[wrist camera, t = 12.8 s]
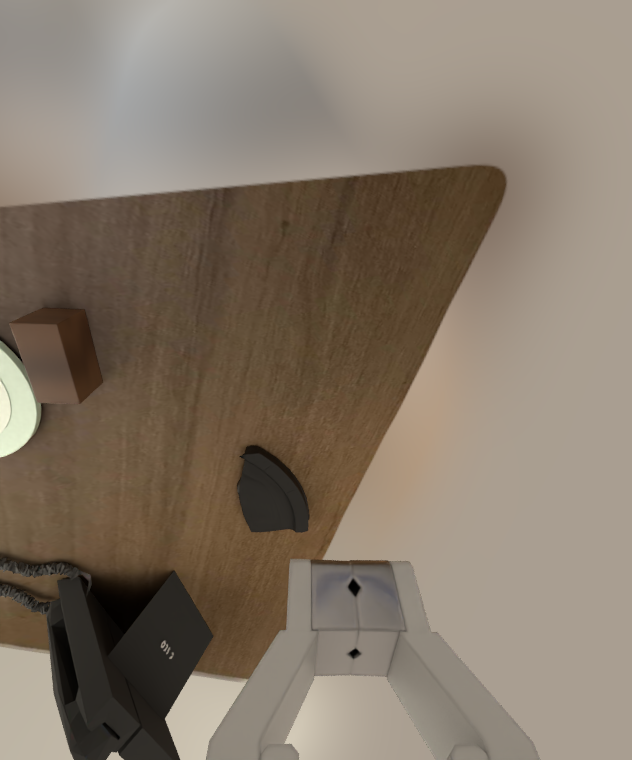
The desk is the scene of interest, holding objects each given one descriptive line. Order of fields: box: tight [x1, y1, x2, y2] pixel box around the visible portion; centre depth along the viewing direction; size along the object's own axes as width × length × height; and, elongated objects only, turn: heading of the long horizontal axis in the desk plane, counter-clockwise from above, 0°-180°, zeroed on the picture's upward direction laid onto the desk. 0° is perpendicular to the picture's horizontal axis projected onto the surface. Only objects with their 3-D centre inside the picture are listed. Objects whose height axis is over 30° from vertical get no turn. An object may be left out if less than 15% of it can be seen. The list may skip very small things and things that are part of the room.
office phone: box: [0, 558, 213, 760], centre depth 48 cm, size 29×28×20 cm
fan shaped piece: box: [237, 446, 309, 532], centre depth 46 cm, size 8×14×2 cm, turn 6°
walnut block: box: [9, 308, 103, 404], centre depth 35 cm, size 8×4×4 cm, turn 177°
